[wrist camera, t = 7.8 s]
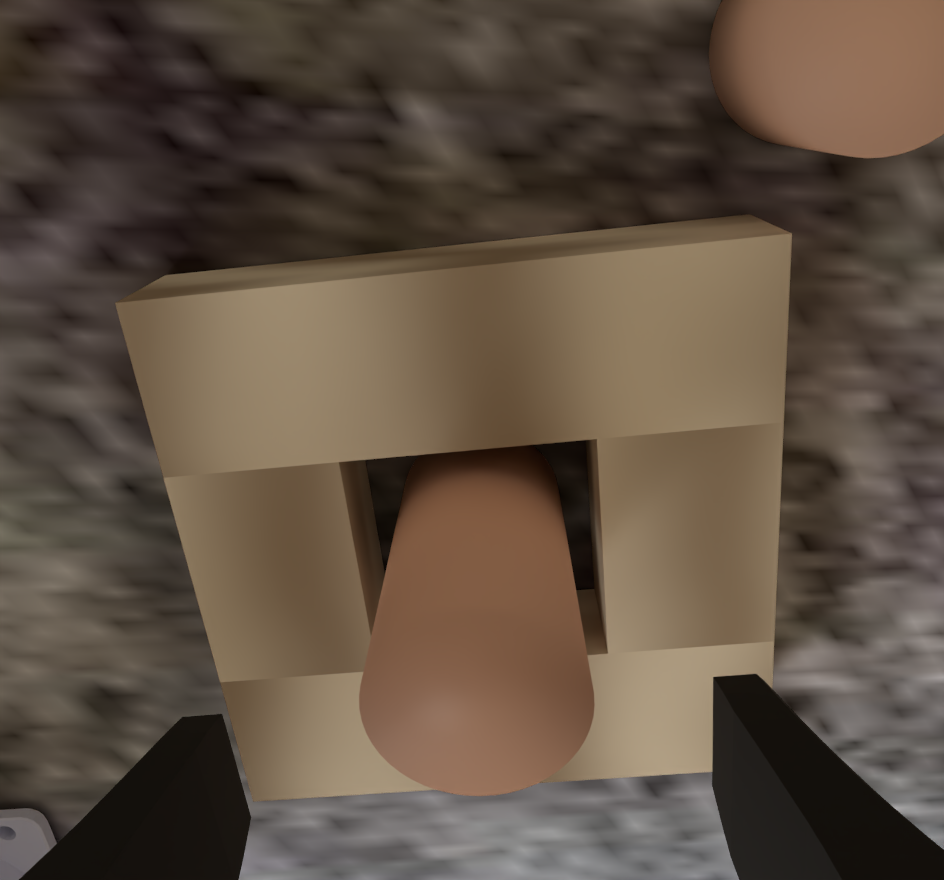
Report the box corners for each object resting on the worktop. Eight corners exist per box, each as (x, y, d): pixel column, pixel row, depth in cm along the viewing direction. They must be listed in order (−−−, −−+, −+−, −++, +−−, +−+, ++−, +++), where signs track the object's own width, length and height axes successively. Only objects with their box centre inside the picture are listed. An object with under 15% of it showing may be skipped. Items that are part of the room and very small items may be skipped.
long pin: (420, 576, 20) (386, 808, 13) (389, 440, 18) (334, 625, 12) (568, 555, 19) (607, 781, 13) (547, 416, 18) (579, 592, 12)
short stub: (708, 155, 16) (763, 170, 13) (709, -57, 15) (771, -99, 11) (897, 134, 16) (1001, 143, 13) (915, -83, 14) (1038, -134, 11)
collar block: (278, 726, 22) (253, 801, 19) (166, 275, 17) (115, 303, 15) (738, 693, 21) (768, 767, 19) (749, 213, 16) (792, 233, 14)
